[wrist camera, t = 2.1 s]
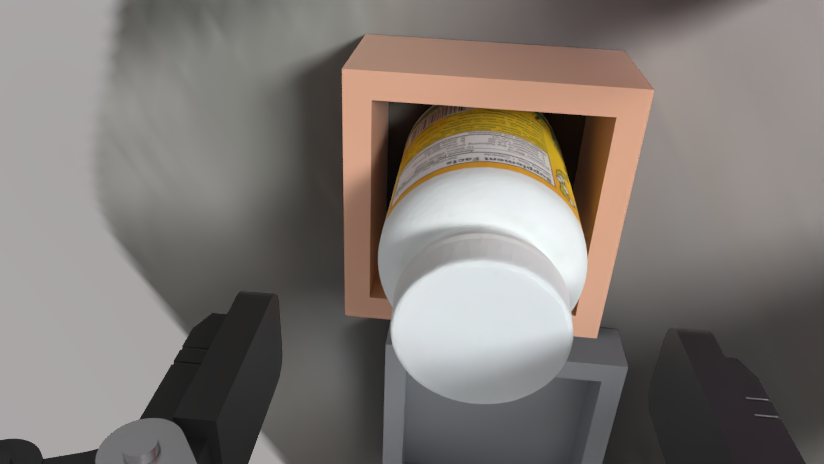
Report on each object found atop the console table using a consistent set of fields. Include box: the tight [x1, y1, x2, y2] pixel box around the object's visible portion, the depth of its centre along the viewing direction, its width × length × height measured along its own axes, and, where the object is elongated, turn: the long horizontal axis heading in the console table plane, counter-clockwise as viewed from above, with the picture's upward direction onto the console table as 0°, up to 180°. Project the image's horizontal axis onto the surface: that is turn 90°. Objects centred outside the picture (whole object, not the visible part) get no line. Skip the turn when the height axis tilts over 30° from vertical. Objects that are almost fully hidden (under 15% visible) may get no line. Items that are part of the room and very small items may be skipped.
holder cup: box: [342, 34, 654, 338], centre depth 21 cm, size 8×8×4 cm
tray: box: [383, 320, 628, 464], centre depth 27 cm, size 9×9×2 cm
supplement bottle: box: [378, 105, 588, 404], centre depth 18 cm, size 5×5×10 cm
